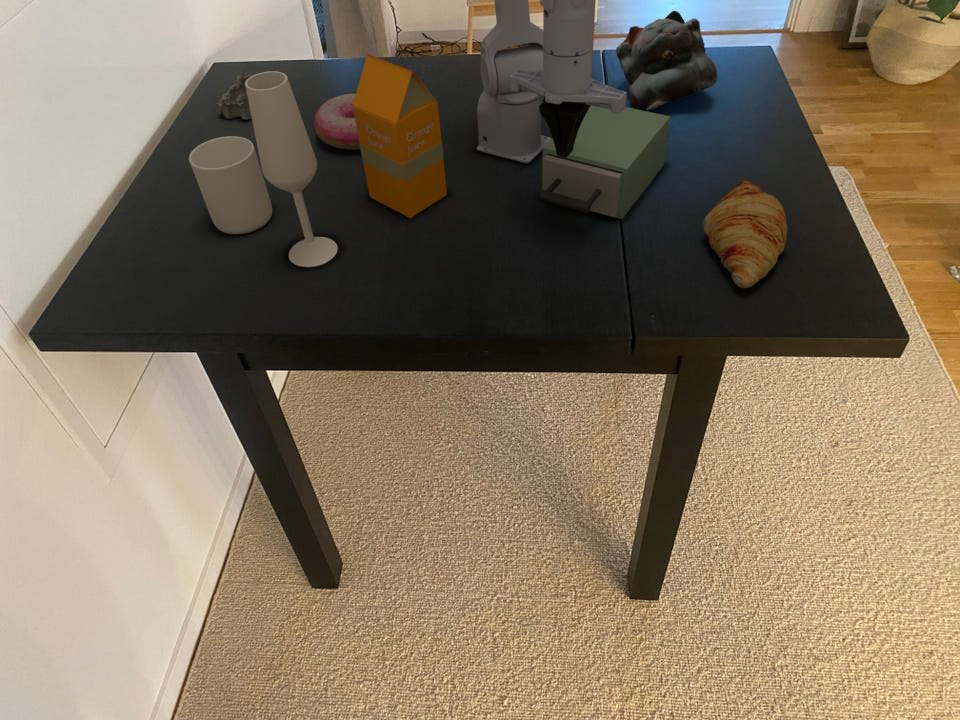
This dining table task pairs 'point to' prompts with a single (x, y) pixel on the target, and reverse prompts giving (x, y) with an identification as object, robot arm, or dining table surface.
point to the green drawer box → (622, 147)
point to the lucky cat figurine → (665, 61)
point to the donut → (338, 123)
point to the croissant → (747, 232)
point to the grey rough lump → (236, 99)
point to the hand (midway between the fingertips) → (564, 153)
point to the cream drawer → (580, 186)
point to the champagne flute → (286, 156)
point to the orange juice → (399, 137)
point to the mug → (232, 184)
